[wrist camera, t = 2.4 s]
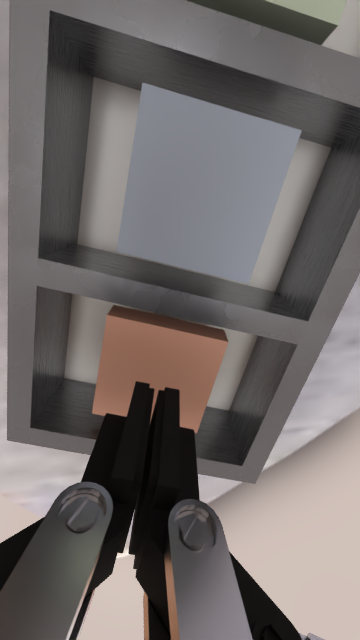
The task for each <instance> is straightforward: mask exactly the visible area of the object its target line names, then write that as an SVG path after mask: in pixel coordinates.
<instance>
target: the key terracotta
mask: <svg viewBox="0 0 360 640" xmlns="http://www.w3.org/2000/svg"><path fill="white" fill-rule="evenodd" d="M227 345H228V339H227V336H226V333H225V331H224V330H223V329H218V328H214V327H209V326H205V325H201V324H196V323H192V322H187V321H183V320H178V319H174V318H170V317H165V316H161V315H156V314H152V313H147V312H143V311H138V310H134V309H130V308H125V307H121V306H116V305H113V307H112V308H111V310H110V311H109V313H108V314H107V317H106V324H105V331H104V337H103V344H102V350H101V357H100V363H99V370H98V376H97V383H96V389H95V396H94V403H93V409H92V414H97V415H103V416H105V415H106V413H110V414H115V415H120V416H126V417H127V414H128V410H129V406H130V402H131V398H132V394H133V390H134V386H135V382H136V381H139V382H144V383H149V384H150V387H149V388H154V389H155V391H154V398H153V405H152V413H151V418H152V414H153V410H154V407H155V403H156V399H157V395H158V391H159V390H164V389H165V387H169V388H174V389H179V390H180V427H184V428H189V429H193V430H194V433H197V431H198V429H199V426H200V423H201V420H202V417H203V414H204V411H205V408H206V406H207V403H208V400H209V397H210V394H211V391H212V388H213V385H214V382H215V380H216V377H217V374H218V371H219V368H220V365H221V362H222V359H223V356H224V354H225V351H226V348H227ZM150 422H151V420H150Z"/></svg>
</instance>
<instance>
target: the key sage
mask: <svg viewBox="0 0 360 640" xmlns="http://www.w3.org/2000/svg"><path fill="white" fill-rule="evenodd" d="M186 1H189V2H192V3H195V4H198V5H201V6H204V7H207V8H210V9H213V10H216V11H219V12H222V13H225V14H228V15H231V16H234V17H237V18H240V19H243V20H246V21H249V22H252V23H255V24H258V25H261V26H264V27H267V28H270V29H273V30H276V31H279V32H282V33H285V34H288V35H291V36H294V37H297V38H300V39H303V40H306V41H309V42H312V43H315V44H318V45H322V44H323V42H324V41H325V40H326V39H327V38H328V37H329V36H330V34H331V33H332V32H333V31H334V30H335V29H336V27H337V26H338V25H339V22H340V19H341V16H342V13H343V10H344V7H345V4H346V2H347V0H186Z"/></svg>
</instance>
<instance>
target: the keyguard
mask: <svg viewBox="0 0 360 640" xmlns="http://www.w3.org/2000/svg"><path fill="white" fill-rule="evenodd" d="M94 77H96V78H99V79H103V80H106V81H110V82H113V83H116V84H120V85H123V86H126V87H130V88H133V89H136V90H140V91H141V88H142V82H143V83H146V84H149V85H153V86H156V87H159V88H163V89H166V90H169V91H172V92H176V93H179V94H182V95H186V96H189V97H192V98H196V99H199V100H202V101H206V102H209V103H212V104H216V105H219V106H222V107H226V108H229V109H232V110H236V111H239V112H242V113H246V114H249V115H252V116H256V117H259V118H262V119H266V120H269V121H272V122H276V123H279V124H282V125H286V126H289V127H292V128H296V129H299V130H302V131H301V134H300V137H299V138H301V139H304V140H308V141H311V142H314V143H318V144H321V145H324V146H328V147H331V149H330V152H329V155H328V157H327V160H326V162H325V165H324V167H323V170H322V173H321V175H320V178H319V180H318V183H317V185H316V188H315V191H314V193H313V196H312V198H311V201H310V203H309V206H308V209H307V211H306V214H305V216H304V219H303V221H302V224H301V227H300V229H299V232H298V234H297V237H296V239H295V242H294V245H293V247H292V250H291V252H290V255H289V257H288V260H287V263H286V265H285V268H284V270H283V273H282V276H281V278H280V281H279V283H278V286H277V288H276V291H275V292H273V291H268V290H264V289H260V288H256V287H252V286H248V285H244V284H240V283H235V282H231V281H227V280H223V279H219V278H215V277H211V276H207V275H202V274H198V273H194V272H190V271H186V270H182V269H178V268H174V267H169V266H165V265H161V264H157V263H153V262H149V261H145V260H141V259H136V258H132V257H128V256H124V255H120V254H116V253H112V252H108V251H103V250H99V249H95V248H91V247H87V246H83V245H79V244H77V242H78V232H79V222H80V212H81V202H82V192H83V182H84V171H85V161H86V151H87V141H88V131H89V121H90V111H91V100H92V90H93V80H94ZM359 273H360V58H357V57H354V56H351V55H348V54H345V53H342V52H339V51H336V50H333V49H330V48H327V47H324V46H321V45H318V44H315V43H312V42H309V41H306V40H303V39H300V38H297V37H294V36H291V35H288V34H285V33H282V32H279V31H276V30H273V29H270V28H267V27H264V26H261V25H258V24H255V23H252V22H249V21H246V20H243V19H240V18H237V17H234V16H231V15H228V14H225V13H222V12H219V11H216V10H213V9H210V8H207V7H204V6H201V5H198V4H195V3H192V2H189V1H186V0H10V39H9V207H8V374H7V440H8V441H14V442H19V443H25V444H31V445H37V446H42V447H48V448H54V449H59V450H65V451H71V452H76V453H82V454H88V455H91V453H92V450H93V448H94V445H95V442H96V439H97V437H98V434H99V431H100V428H101V426H102V423H103V420H104V417H105V416H103V415H97V414H92V409H93V403H94V396H95V389H96V384H92V383H87V382H82V381H77V380H72V379H67V378H64V374H65V364H66V354H67V344H68V334H69V324H70V314H71V303H72V294H76V295H81V296H85V297H89V298H94V299H98V300H103V301H107V302H112V303H116V304H120V305H125V306H129V307H134V308H138V309H143V310H147V311H151V312H156V313H160V314H165V315H169V316H173V317H178V318H182V319H187V320H191V321H196V322H200V323H204V324H209V325H213V326H218V327H222V328H227V329H231V330H235V331H240V332H244V333H249V334H253V335H258V337H257V340H256V342H255V345H254V348H253V350H252V353H251V355H250V358H249V360H248V363H247V366H246V368H245V371H244V373H243V376H242V378H241V381H240V384H239V386H238V389H237V391H236V394H235V396H234V399H233V402H232V404H231V407H230V409H229V411H228V410H223V409H218V408H213V407H208V406H206V408H205V411H204V414H203V417H202V420H201V423H200V426H199V429H198V431H197V433H195V445H196V459H197V472H198V474H202V475H208V476H213V477H219V478H225V479H231V480H236V481H242V482H248V483H254V484H255V483H256V481H257V479H258V477H259V475H260V473H261V471H262V469H263V467H264V465H265V463H266V461H267V459H268V457H269V455H270V453H271V451H272V449H273V447H274V445H275V442H276V440H277V438H278V436H279V434H280V432H281V430H282V428H283V426H284V424H285V422H286V420H287V418H288V416H289V414H290V412H291V410H292V408H293V406H294V404H295V402H296V400H297V398H298V396H299V394H300V392H301V390H302V388H303V386H304V384H305V382H306V380H307V378H308V376H309V374H310V372H311V370H312V368H313V366H314V364H315V362H316V360H317V358H318V356H319V354H320V352H321V350H322V348H323V346H324V344H325V342H326V340H327V338H328V336H329V334H330V332H331V330H332V328H333V326H334V324H335V322H336V320H337V317H338V315H339V313H340V311H341V309H342V307H343V305H344V303H345V301H346V299H347V297H348V295H349V293H350V291H351V289H352V287H353V285H354V283H355V281H356V279H357V277H358V275H359Z"/></svg>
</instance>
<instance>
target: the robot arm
mask: <svg viewBox="0 0 360 640" xmlns="http://www.w3.org/2000/svg"><path fill="white" fill-rule="evenodd" d="M149 387H150V384H149V383H144V382H139V381H136V382H135V386H134V390H133V394H132V398H131V402H130V406H129V410H128V414H127V417H126V416H120V415H115V414H110V413H106V415H105V417H104V420H103V423H102V426H101V428H100V431H99V434H98V437H97V439H96V442H95V445H94V448H93V450H92V453H91V456H90V459H89V461H88V464H87V467H86V470H85V472H84V475H83V478H82V481H81V483H76V484H74V485H72V486H69V487H68V488H67V489H65V490H64V491H63V492H61V493H60V495H59V496H58V497H57V498H56V500H55V501H54V503H53V505H52V506H51V508H50V510H49V511H48V513H47V515H46V516H45V517H44V518H42V519H40V520H39V521H37V522H36V523H34V524H32V525H30V526H28V527H27V528H25V529H23V530H22V531H20V532H19V533H17V534H15V535H14V536H12V537H10V538H8V539H7V540H5V541H3V542H2V543H0V640H78V638H79V635H80V632H81V629H82V626H83V624H84V621H85V618H86V615H87V612H88V609H89V606H90V603H91V601H92V597H93V595H94V591H95V588H96V587H98V586H99V585H100V583H102V582H103V581H104V580H105V579H107V577H109V575H111V574H112V572H113V568H114V564H115V560H116V556H117V552H118V553H123V550H124V547H125V543H126V539H127V536H128V532H129V528H130V524H131V521H132V517H133V513H134V518H133V525H132V532H131V539H130V545H129V554H132V555H135V559H134V567H133V568H134V569H137V570H136V578H137V580H138V581H139V583H140V585H141V586H142V588H143V589H144V597H143V608H144V640H324V639H322V638H320V637H318V636H316V635H313V634H311V633H309V634H308V635H307V636H304V635H302V634H300V633H298V631H297V630H296V629H295V627H294V626H293V624H292V623H291V622H290V621H289V620H288V618H287V617H286V616H285V615H284V614H283V613H282V611H281V610H280V609H279V608H278V607H277V606H276V605H275V603H274V602H273V601H272V600H271V599H270V598H269V597H268V595H267V594H266V593H265V592H264V591H263V590H262V588H260V586H259V585H258V584H257V583H256V582H255V580H254V579H253V578H252V577H251V576H250V575H249V574H248V572H247V571H246V570H245V569H244V568H243V567H242V566H241V564H240V563H239V562H238V561H237V560H236V559H235V558H234V556H233V555H232V554H231V553H230V552H229V550H228V546H227V542H226V539H225V535H224V531H223V527H222V525H221V522H220V520H219V517H218V516H217V515H216V513H215V512H214V510H213V509H212V508H210V507H209V506H208V505H207V504H205V503H203V502H201V501H200V500H199V486H198V472H197V459H196V445H195V433H194V430H193V429H189V428H184V427H180V390H179V389H174V388H169V387H165V389H164V390H159V391H158V395H157V399H156V403H155V407H154V410H153V414H152V418H151V413H152V405H153V398H154V391H155V389H154V388H149ZM150 420H151V422H150ZM134 510H135V512H134Z"/></svg>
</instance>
